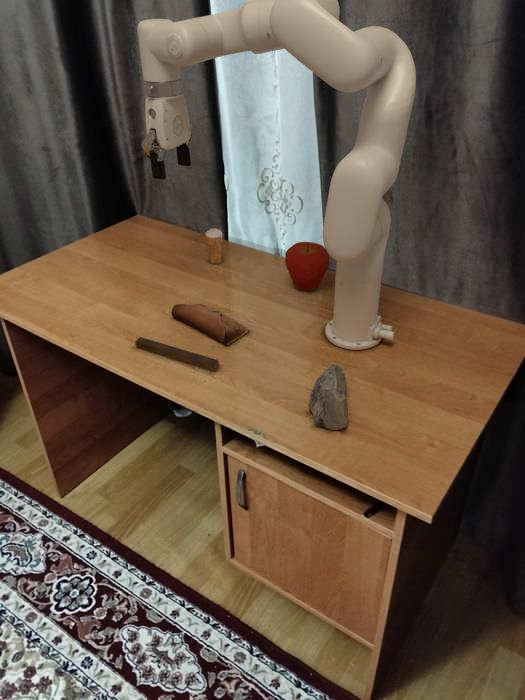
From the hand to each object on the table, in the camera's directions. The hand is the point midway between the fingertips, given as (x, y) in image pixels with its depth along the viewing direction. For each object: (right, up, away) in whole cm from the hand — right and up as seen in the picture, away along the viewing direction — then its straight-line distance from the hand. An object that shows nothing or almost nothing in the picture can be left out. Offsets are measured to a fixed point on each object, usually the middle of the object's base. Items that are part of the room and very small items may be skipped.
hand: (172, 171), depth 128 cm
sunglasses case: (+8, -34, +5) cm, 35 cm away
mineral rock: (+33, -51, -19) cm, 64 cm away
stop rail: (+2, -41, -5) cm, 41 cm away
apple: (+31, -24, +19) cm, 43 cm away
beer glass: (+7, -15, +32) cm, 36 cm away
